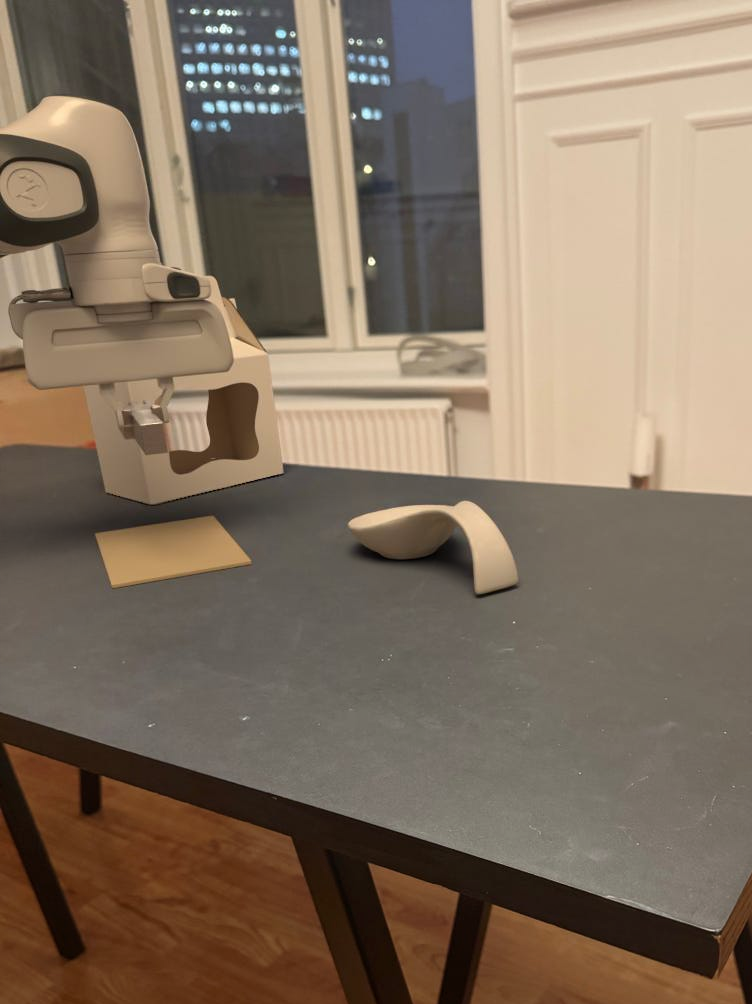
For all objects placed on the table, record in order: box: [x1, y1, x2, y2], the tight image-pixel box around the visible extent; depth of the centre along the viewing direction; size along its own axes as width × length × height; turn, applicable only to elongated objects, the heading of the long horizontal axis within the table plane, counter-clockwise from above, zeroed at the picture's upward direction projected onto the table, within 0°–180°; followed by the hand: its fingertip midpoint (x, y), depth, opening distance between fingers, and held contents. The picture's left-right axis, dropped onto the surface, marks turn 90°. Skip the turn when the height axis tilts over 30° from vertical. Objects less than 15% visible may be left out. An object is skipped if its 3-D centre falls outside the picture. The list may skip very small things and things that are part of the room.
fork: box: [115, 400, 169, 455], centre depth 98 cm, size 19×4×3 cm, turn 25°
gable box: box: [83, 275, 285, 506], centre depth 129 cm, size 22×13×28 cm, turn 137°
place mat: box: [94, 515, 253, 589], centre depth 103 cm, size 22×14×1 cm, turn 25°
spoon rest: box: [347, 500, 519, 595], centre depth 93 cm, size 24×12×7 cm, turn 34°
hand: (144, 424), depth 97 cm, fingers closed on fork, 2 cm apart
